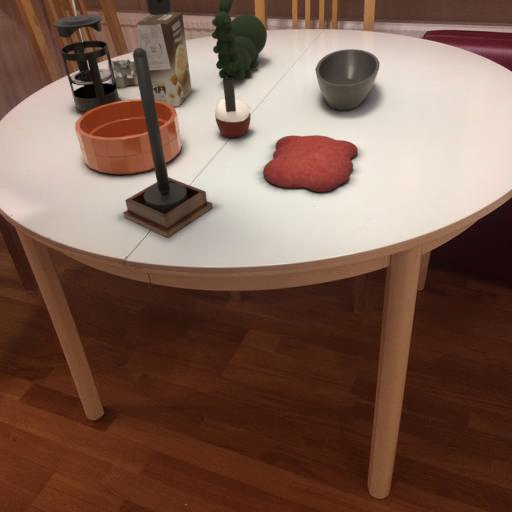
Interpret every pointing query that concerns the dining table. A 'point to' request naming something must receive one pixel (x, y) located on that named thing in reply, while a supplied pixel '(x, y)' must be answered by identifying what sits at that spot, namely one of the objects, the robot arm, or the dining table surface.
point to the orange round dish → (125, 136)
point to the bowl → (346, 77)
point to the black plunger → (156, 144)
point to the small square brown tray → (173, 218)
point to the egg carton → (124, 73)
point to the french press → (87, 64)
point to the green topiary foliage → (237, 42)
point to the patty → (310, 162)
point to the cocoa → (232, 112)
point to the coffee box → (166, 56)
